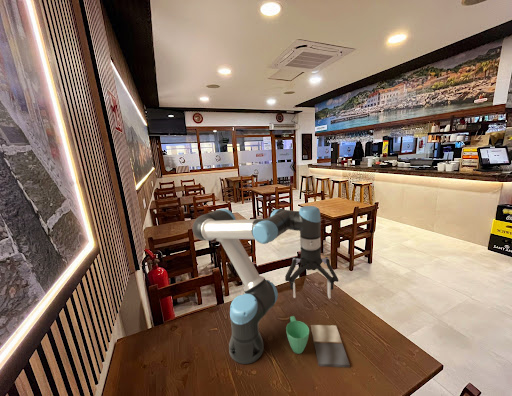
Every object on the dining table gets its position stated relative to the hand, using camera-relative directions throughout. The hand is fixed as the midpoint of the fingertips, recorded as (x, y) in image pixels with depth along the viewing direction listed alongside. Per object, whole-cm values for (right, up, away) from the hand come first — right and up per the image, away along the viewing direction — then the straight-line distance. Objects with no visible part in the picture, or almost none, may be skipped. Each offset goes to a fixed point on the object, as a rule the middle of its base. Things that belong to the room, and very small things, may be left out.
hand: (311, 296), depth 89 cm
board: (+10, -25, +9) cm, 29 cm away
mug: (-4, -26, +10) cm, 28 cm away
